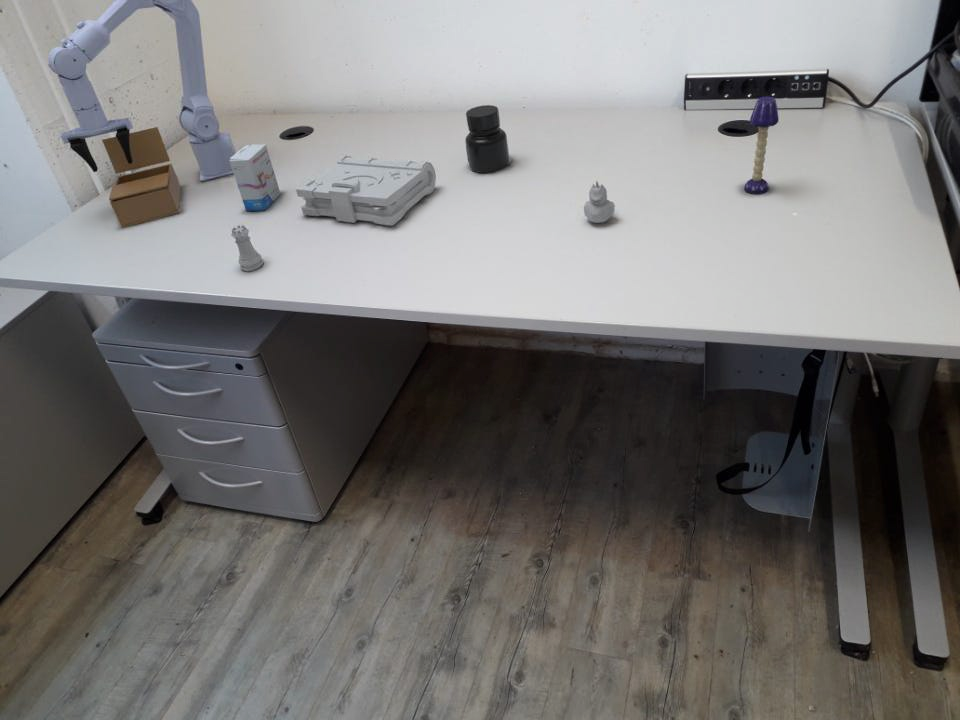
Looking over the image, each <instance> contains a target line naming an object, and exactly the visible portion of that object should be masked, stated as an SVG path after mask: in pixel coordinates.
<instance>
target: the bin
mask: <svg viewBox="0 0 960 720" xmlns="http://www.w3.org/2000/svg"><path fill="white" fill-rule="evenodd" d="M164 187H167V188H165V189H161V190H157V191H153V192H149V193H147V192H148V191H152V190H156V189H160V188H164ZM181 193H182V185H181V183H180V181H179V179H178V176H177V173H176V171H175V169H174V167H173V163H168V164H164V165H160V166H159V165H158V166H155V167H152V168H147V169H143V170H139V171H135V172H131V173H127V174H122V175H119V176H116V179H115V183H114V185H112V186H111V191H110V193H109V196H108V200H109V201H110V202H109V203H110V206H111V207H112V210H113V212H114V214H115V216H116V218H117V220H118V222H119V224H120V227H121V228H125V227H130V226H133V225H134V226H135V225H138V224H141V223H142V224H143V223H146V222H151V221H154V220H157V219H161V218H167V217H170V216H174V215H178V214H180V208H181V207H180V205H181Z"/></svg>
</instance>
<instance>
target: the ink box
mask: <svg viewBox="0 0 960 720" xmlns="http://www.w3.org/2000/svg"><path fill="white" fill-rule="evenodd" d="M230 159H231V160H230V164H231V167H232V170H233V176H234V180H235V182H236V185H237V189H238V192H239V194H240V197H241V200H242V204H243V205H244V209H245V211H246V212H253V211H254V212H255V211H266V210H267V209H268V208H269V207H270V206H271V205H272V204H273V203H274V201H276V199H278V197H279V196H280V195H281V190H280V187H279V184H278V180H277V177H276V173H275V170H274V167H273V164H272V160H271V157H270V154H269V150H268V146H267V144H245V145H243V147H241V149H239V150H238V151H237V152H236V154H234V155H233V156H232V157H231V158H230Z"/></svg>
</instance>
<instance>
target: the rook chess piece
mask: <svg viewBox="0 0 960 720" xmlns="http://www.w3.org/2000/svg"><path fill="white" fill-rule="evenodd" d="M249 232H250V230H249V228H246V225H244V224H241V225H236V226H233V227H232V229H231V237H233V238H234V239H235V241H234V243H235V244H236V246H237V247H238V253H239V256H238V265H239V269H241V270H242V271H244V272H252V271H256V270H259V269H260V268H261V267H262V265H263V264H264V259H263V258H262V255H261V254H260V253H259V252H258V251H257V249H255V247H254V246H253V244H252V242H251V237H250V236H249Z"/></svg>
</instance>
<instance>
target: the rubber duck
mask: <svg viewBox="0 0 960 720" xmlns="http://www.w3.org/2000/svg"><path fill="white" fill-rule="evenodd" d="M588 196H589V200H587V201H586V202H585V203H584V206H583V214H584V215H585V217H586V218H587V220H588V221H589V222H592V223H595V224H602V223H605V222H607V221H608V220H609V219H610V218H612V216H613V215H614V212H615V209H616V208H615V207H616V205H615V203H614V202H613V201H611V200H609V199H608V191H607V188H606V187H605V186H604V185H603V184H602V183H600V184H599V182H598V180H596V182H595V184H594V183H593V184H592V185H591V187H590V190H589V191H588Z"/></svg>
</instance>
